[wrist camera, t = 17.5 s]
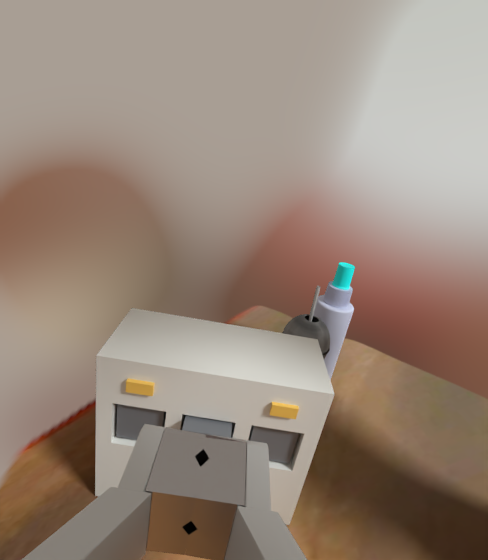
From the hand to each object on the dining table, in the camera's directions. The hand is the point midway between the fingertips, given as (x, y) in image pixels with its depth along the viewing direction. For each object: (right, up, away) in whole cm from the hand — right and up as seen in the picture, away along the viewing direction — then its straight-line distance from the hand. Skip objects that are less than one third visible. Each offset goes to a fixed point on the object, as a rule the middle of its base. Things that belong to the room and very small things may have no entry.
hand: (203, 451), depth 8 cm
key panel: (-4, -19, +33) cm, 38 cm away
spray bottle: (+13, -14, +53) cm, 56 cm away
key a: (-9, -11, +27) cm, 31 cm away
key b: (+3, -13, +27) cm, 31 cm away
